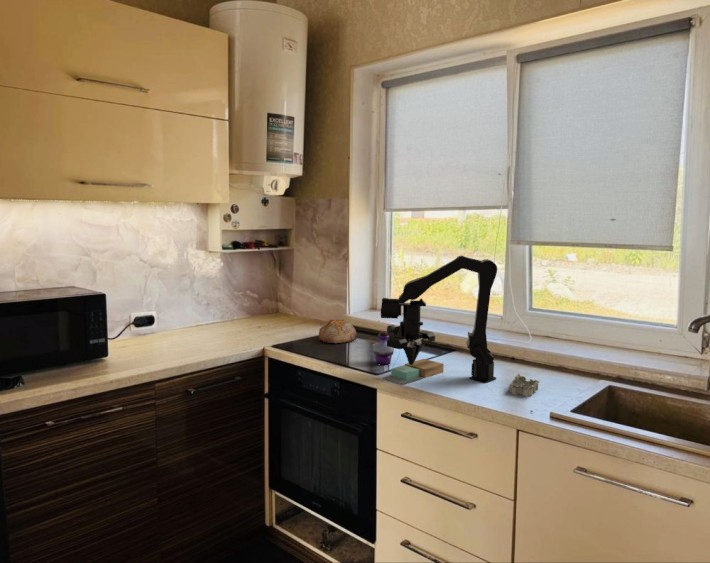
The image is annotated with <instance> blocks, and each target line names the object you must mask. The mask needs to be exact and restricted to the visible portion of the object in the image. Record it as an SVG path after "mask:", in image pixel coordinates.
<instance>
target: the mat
mask: <svg viewBox="0 0 710 563" xmlns="http://www.w3.org/2000/svg"><path fill="white" fill-rule="evenodd" d="M422 379H424V378H423V377H420V376H419V377H416V378H412V379H409V380H405V379H401V378H398V377H395V376H391V375H388V376H384V377H382V380H385V381H388V382H392V383H395V384H398V385H402V386H403V385H404V386H405V385H407V383H408V384H410V382H411V383H414V382H417V381H420V380H422ZM413 381H414V382H413Z"/></svg>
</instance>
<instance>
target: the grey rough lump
mask: <svg viewBox="0 0 710 563" xmlns="http://www.w3.org/2000/svg"><path fill="white" fill-rule="evenodd" d="M540 381H541V380H537V379H535V380H533V379H532V378H530V379H529V380H527V378H526V376H524V375H523V376H522V375H520V373H517V375H515V377H514V379H513V380H512V381H511V382H510V384H509V385H508V387H509V393H510V392H511V394H512V395H515V394H516V395H521V394H522V396H523V397H533V395H534V394H536V391H538V390H539V384H540Z"/></svg>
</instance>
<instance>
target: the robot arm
mask: <svg viewBox="0 0 710 563" xmlns="http://www.w3.org/2000/svg"><path fill="white" fill-rule="evenodd" d="M462 269H464V270H467V271H470V272H472V273H473V272H474V273H477V281H478V290H477V299H476V307H475V317H474V323H473V324H474V325H473V329H472V332H469V331H468V332H467V341H466V343H465V344H466V348H467V349H468V351H469V354H470V355H471V357H473V359H472V363H471V371H470V372H471V376H469V379H470V380H474V381H478V382H481V383H485V384H486V383H488V382H491V381H495V380H496V379H497V377H495V375H494V373H495V362H494V356H493V354H492V351H491V350H489V348H488V340H487V338H488V337H487V323H488V314H489V308H490V306H489V305H490V299H491V292H492V291H491V290H492V287H493V284H494V282H495V280H496V276H497V273H498V266H497V264H496V263H495V262H494V261H493V260H491V259H488V258H486V259H485V258H484V259H482V260H479V259H475V258H472V257H466V256H464V255H458V256H456V258H455V259H452V260H451V261H449V262H448V263H446V264H444V265H442V266H441V267H439V268H437V269H436V270H434V271H432V272H430V273H428V274H426V275H424V276H421V277H417V278H415V279H412V280H409V281H408V282H406V283H405V284H404V286H403V291H402V293H401V295H399V297H398V298H389V297H382V298H381V308H380V318H381V319H396V320H397V319H399V317H400V316H402V321H400V322H399V325H397V326H395V324H391V325H387V327H386V331H387V334H388V335H389V336H390V337H389V338H388V339H387V347H392V348H394V349H396V350H402V349H403V351H404V354H405V356H406V359H407V363H409V364H410V365H413V363H414V361H417V357H418V356H419V354H420V352H421V351H422V349H423V347H424V346H425V343H422V341H423V340H428V342H435V341H436V334H435V333H434V332H433V331H427V330H421V326H424V322H423V321H421V308H422V307H427V302H425V301H424V299H423V298H422V297H421V296H422V295H424V293H426V292H427V291H428V290H429V289H430V288H432V286H434V285H436V284H438V283H439V282H441V281H443V280H445V279H446V278H448V277H450V276H451V275H453V274H455V273H457V272H459V271H460V270H462ZM420 297H421V298H420ZM418 298H420V299H419V300H418ZM409 300H410V301H409ZM408 301H409V302H408ZM402 307H403V308H402ZM402 310H403V312H402Z"/></svg>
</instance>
